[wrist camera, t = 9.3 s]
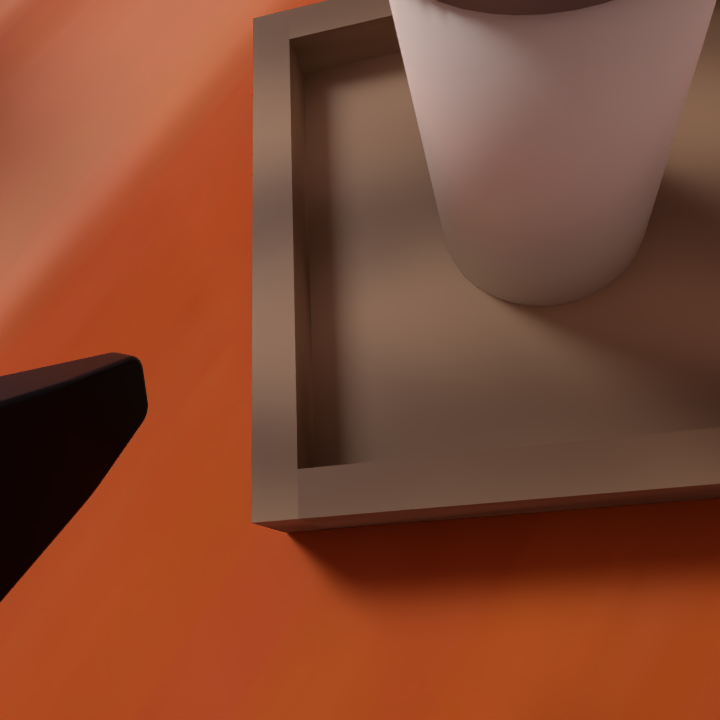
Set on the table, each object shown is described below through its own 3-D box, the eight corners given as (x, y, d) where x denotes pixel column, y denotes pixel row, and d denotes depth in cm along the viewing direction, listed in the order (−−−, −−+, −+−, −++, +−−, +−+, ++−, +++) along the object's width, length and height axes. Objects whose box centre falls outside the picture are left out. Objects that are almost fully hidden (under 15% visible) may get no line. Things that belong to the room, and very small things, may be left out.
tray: (947, 479, 16) (1018, 458, 13) (285, 532, 19) (251, 522, 17) (769, -36, 21) (797, -113, 19) (279, 73, 24) (253, 18, 22)
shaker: (619, 336, 18) (768, -117, 7) (409, 281, 19) (250, -143, 8) (677, 148, 19) (881, -489, 8) (475, 113, 21) (414, -439, 10)
